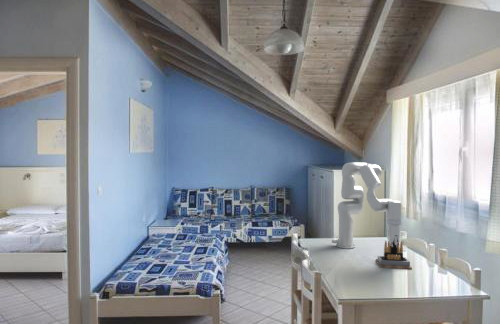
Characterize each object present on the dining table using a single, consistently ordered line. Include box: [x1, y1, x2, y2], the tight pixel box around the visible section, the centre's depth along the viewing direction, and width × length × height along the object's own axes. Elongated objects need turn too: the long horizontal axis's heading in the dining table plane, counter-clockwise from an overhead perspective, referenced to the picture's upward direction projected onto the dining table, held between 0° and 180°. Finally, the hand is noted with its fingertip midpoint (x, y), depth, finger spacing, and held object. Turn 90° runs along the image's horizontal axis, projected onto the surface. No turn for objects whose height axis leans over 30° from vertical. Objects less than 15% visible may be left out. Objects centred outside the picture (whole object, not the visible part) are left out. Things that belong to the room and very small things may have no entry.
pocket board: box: [375, 255, 413, 270], centre depth 215 cm, size 17×14×4 cm
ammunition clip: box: [383, 240, 404, 261], centre depth 214 cm, size 11×2×12 cm, turn 82°
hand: (393, 253), depth 214 cm, fingers closed on ammunition clip, 1 cm apart
